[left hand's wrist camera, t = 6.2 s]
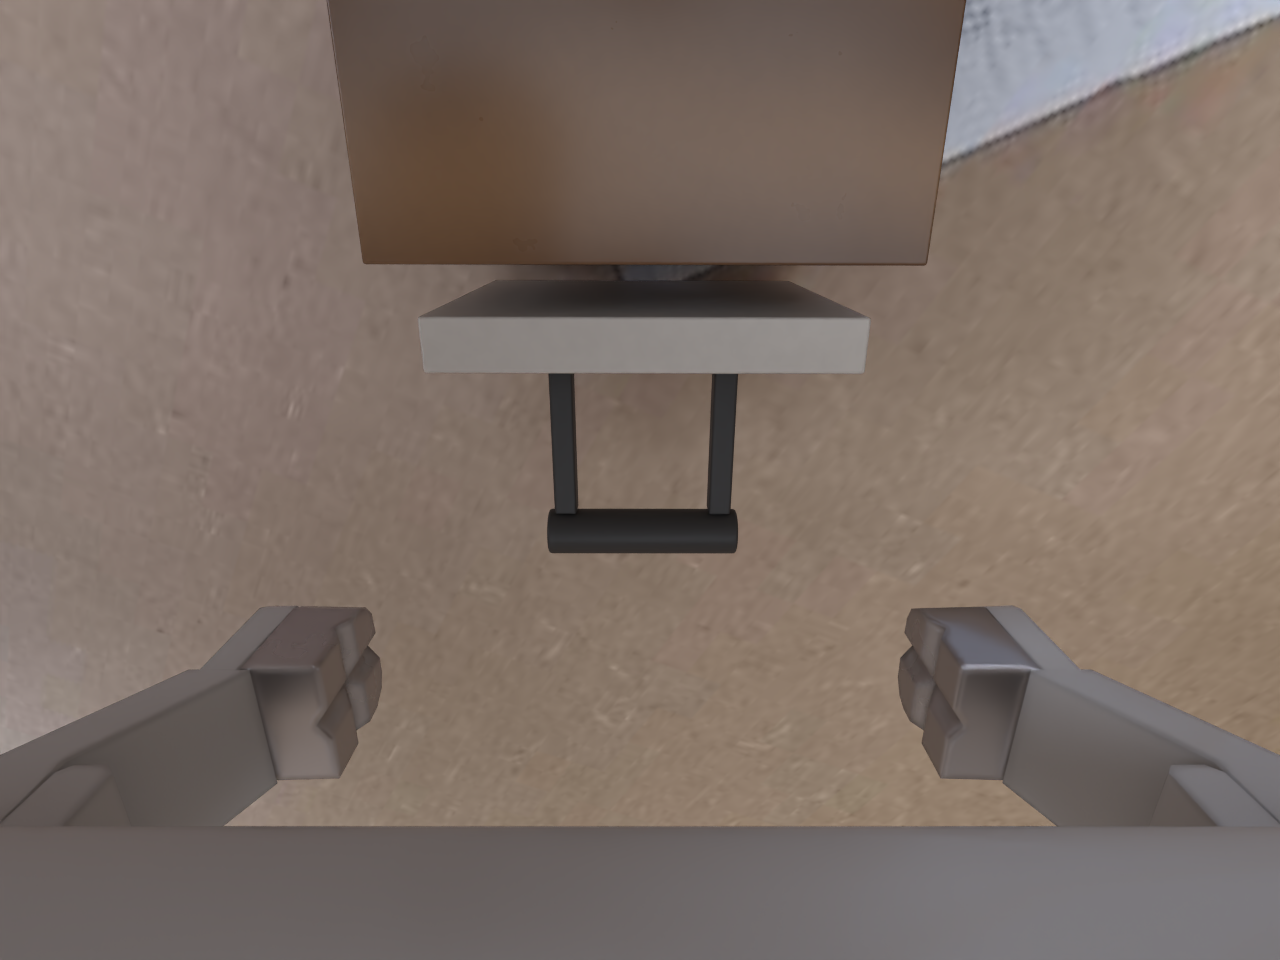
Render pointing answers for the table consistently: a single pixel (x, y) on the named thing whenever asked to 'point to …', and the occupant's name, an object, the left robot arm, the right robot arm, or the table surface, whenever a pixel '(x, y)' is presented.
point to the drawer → (643, 344)
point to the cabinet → (645, 129)
